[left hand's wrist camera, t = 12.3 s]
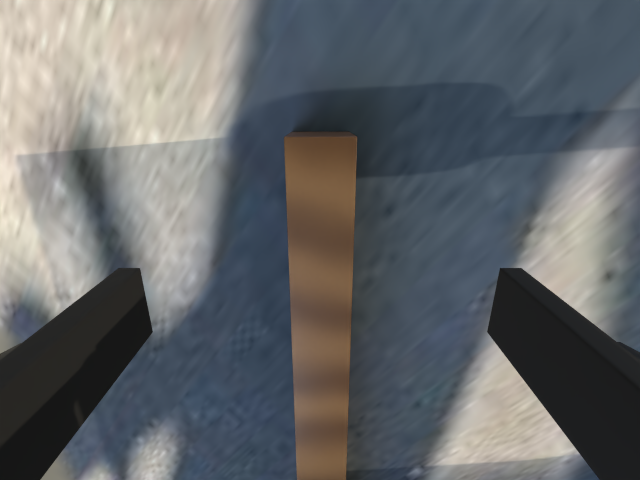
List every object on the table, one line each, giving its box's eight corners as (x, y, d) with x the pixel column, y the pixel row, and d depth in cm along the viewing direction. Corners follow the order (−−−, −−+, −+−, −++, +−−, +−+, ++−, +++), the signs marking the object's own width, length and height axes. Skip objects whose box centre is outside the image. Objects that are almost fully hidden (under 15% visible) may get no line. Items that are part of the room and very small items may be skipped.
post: (291, 131, 32) (284, 136, 25) (349, 131, 32) (357, 136, 25) (305, 597, 58) (303, 660, 51) (337, 597, 58) (339, 660, 51)
